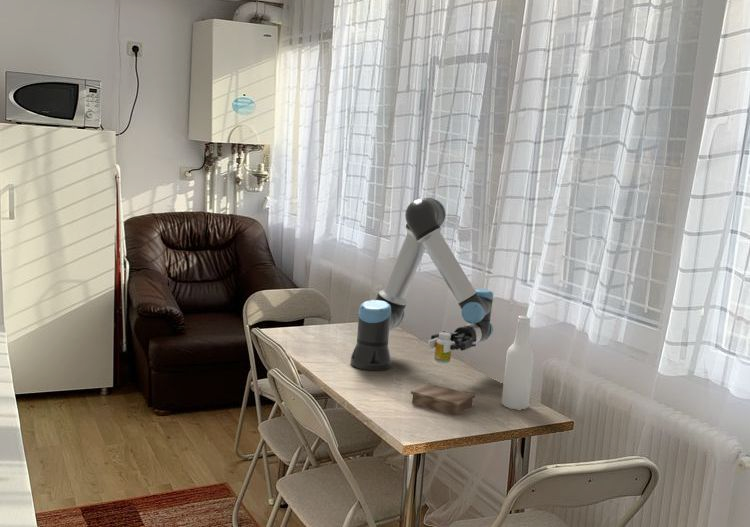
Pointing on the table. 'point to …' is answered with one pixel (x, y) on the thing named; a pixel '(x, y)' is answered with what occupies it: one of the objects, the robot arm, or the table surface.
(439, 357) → the supplement bottle
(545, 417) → the table surface
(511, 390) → the alcohol
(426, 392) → the stand
